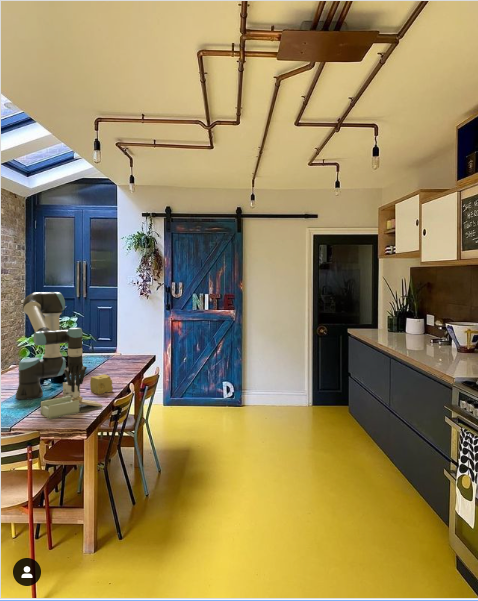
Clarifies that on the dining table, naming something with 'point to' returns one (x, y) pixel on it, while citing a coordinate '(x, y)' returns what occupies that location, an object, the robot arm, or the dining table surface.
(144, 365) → the dining table surface
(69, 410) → the sage box
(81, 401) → the cover plate
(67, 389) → the ink box
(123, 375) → the dining table surface
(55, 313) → the robot arm
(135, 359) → the dining table surface
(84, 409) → the rubber mat
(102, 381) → the cheese
